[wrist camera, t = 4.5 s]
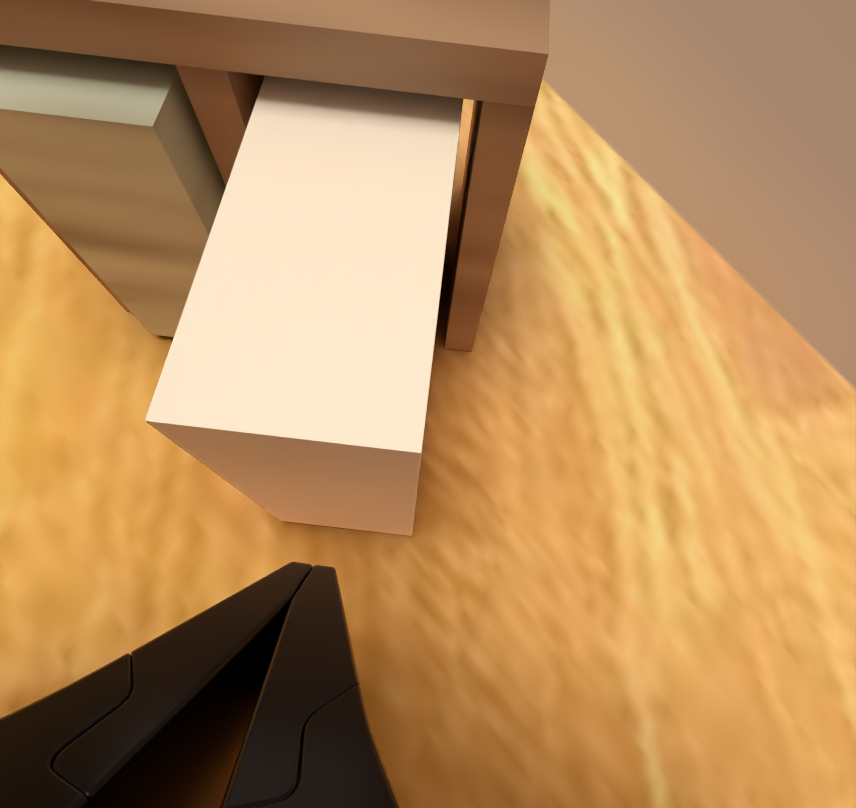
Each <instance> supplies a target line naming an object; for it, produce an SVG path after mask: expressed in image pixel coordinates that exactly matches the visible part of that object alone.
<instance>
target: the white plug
mask: <svg viewBox="0 0 856 808" xmlns="http://www.w3.org/2000/svg"><path fill="white" fill-rule="evenodd" d="M462 104H463V99H462V98H454V97H445V96H437V95H428V94H420V93H411V92H403V91H394V90H386V89H377V88H368V87H360V86H351V85H343V84H334V83H326V82H317V81H309V80H300V79H292V78H283V77H275V76H266V75H265V77H264V79H263V82H262V85H261V88H260V91H259V94H258V97H257V100H256V102H255V105H254V108H253V111H252V114H251V117H250V120H249V123H248V125H247V128H246V131H245V134H244V137H243V140H242V143H241V146H240V148H239V151H238V154H237V157H236V160H235V163H234V166H233V169H232V172H231V174H230V177H229V180H228V183H227V186H226V189H225V192H224V195H223V197H222V200H221V203H220V206H219V209H218V212H217V215H216V218H215V220H214V223H213V226H212V229H211V232H210V235H209V238H208V241H207V243H206V246H205V249H204V252H203V255H202V258H201V261H200V264H199V266H198V269H197V272H196V275H195V278H194V281H193V284H192V287H191V289H190V292H189V295H188V298H187V301H186V304H185V307H184V310H183V312H182V315H181V318H180V321H179V324H178V327H177V330H176V333H175V336H174V338H173V341H172V344H171V347H170V350H169V353H168V356H167V359H166V361H165V364H164V367H163V370H162V373H161V376H160V379H159V382H158V384H157V387H156V390H155V393H154V396H153V399H152V402H151V405H150V407H149V410H148V413H147V416H146V419H145V421H146V422H147V423H149V424H150V425H151V426H153V427H154V428H155V429H157V430H158V431H159V432H161V433H162V434H163V435H165V436H166V437H167V438H169V439H170V440H172V441H173V442H174V443H176V444H177V445H178V446H180V447H181V448H182V449H184V450H185V451H186V452H188V453H189V454H190V455H192V456H193V457H194V458H196V459H197V460H199V461H200V462H201V463H203V464H204V465H205V466H207V467H208V468H209V469H211V470H212V471H213V472H215V473H216V474H217V475H219V476H220V477H222V478H223V479H224V480H226V481H227V482H228V483H230V484H231V485H232V486H234V487H235V488H236V489H238V490H239V491H240V492H242V493H243V494H245V495H246V496H247V497H249V498H250V499H251V500H253V501H254V502H255V503H257V504H258V505H259V506H261V507H262V508H263V509H265V510H266V511H268V512H269V513H270V514H272V515H273V516H274V517H276V518H277V519H278V520H280V521H287V522H295V523H304V524H313V525H321V526H330V527H338V528H347V529H355V530H364V531H372V532H381V533H389V534H398V535H407V536H412V531H413V523H414V514H415V506H416V497H417V489H418V480H419V472H420V463H421V455H422V446H423V438H424V429H425V421H426V412H427V404H428V395H429V387H430V378H431V370H432V361H433V353H434V344H435V335H436V327H437V318H438V310H439V301H440V293H441V284H442V276H443V267H444V259H445V250H446V242H447V233H448V225H449V216H450V207H451V199H452V190H453V182H454V173H455V164H456V156H457V147H458V138H459V130H460V121H461V113H462Z"/></svg>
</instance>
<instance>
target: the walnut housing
mask: <svg viewBox="0 0 856 808" xmlns="http://www.w3.org/2000/svg"><path fill="white" fill-rule="evenodd" d="M549 12H550V0H0V174H1V175H2V176H3V177H4V178H5V179H6V180H7V182H8V183H9V184H10V185H11V186H12V187H13V188H14V189H15V190H16V191H17V192H18V194H19V195H20V196H21V197H22V198H23V199H24V200H25V201H26V202H27V203H28V204H29V205H30V207H31V208H32V209H33V210H34V211H35V212H36V213H37V214H38V215H39V216H40V217H41V219H42V220H43V221H44V222H45V223H46V224H47V225H48V226H49V227H50V228H51V229H52V230H53V232H54V233H55V234H56V235H57V236H58V237H59V238H60V239H61V240H62V241H63V242H64V244H65V245H66V246H67V247H68V248H69V249H70V250H71V251H72V252H73V253H74V254H75V255H76V257H77V258H78V259H79V260H80V261H81V262H82V263H83V264H84V265H85V266H86V267H87V269H88V270H89V271H90V272H91V273H92V274H93V275H94V276H95V277H96V278H97V279H98V280H99V282H100V283H101V284H102V285H103V286H104V287H105V288H106V289H107V290H108V291H109V292H110V294H111V295H112V296H113V297H114V298H115V299H116V300H117V301H118V302H119V303H120V304H121V306H122V307H123V308H124V309H125V310H126V311H129V312H132V313H133V315H134V316H135V317H136V318H137V319H138V320H139V321H140V322H141V323H142V324H143V326H144V327H145V328H146V329H147V330H148V331H149V332H150V333H151V334H152V335H160V336H169V337H174V336H175V333H176V330H177V327H178V324H179V321H180V318H181V315H182V312H183V310H184V307H185V304H186V301H187V298H188V295H189V292H190V289H191V287H192V284H193V281H194V278H195V275H196V272H197V269H198V266H199V264H200V261H201V258H202V255H203V252H204V249H205V246H206V243H207V241H208V238H209V235H210V232H211V229H212V226H213V223H214V220H215V218H216V215H217V212H218V209H219V206H220V203H221V200H222V197H223V195H224V192H225V189H226V186H227V183H228V180H229V177H230V174H231V172H232V169H233V166H234V163H235V160H236V157H237V154H238V151H239V148H240V146H241V143H242V140H243V137H244V134H245V131H246V128H247V125H248V123H249V120H250V117H251V114H252V111H253V108H254V105H255V102H256V100H257V97H258V94H259V91H260V88H261V85H262V82H263V79H264V77H265V75H266V76H275V77H283V78H292V79H300V80H309V81H317V82H326V83H334V84H343V85H351V86H360V87H368V88H377V89H386V90H394V91H403V92H411V93H420V94H428V95H437V96H445V97H454V98H462V99H471V100H474V105H473V112H472V120H471V127H470V134H469V141H468V149H467V156H466V163H465V170H464V178H463V185H462V193H461V202H460V212H459V221H458V230H457V239H456V249H455V258H454V267H453V276H452V286H451V295H450V304H449V314H448V323H447V332H446V341H445V349H454V350H462V351H471V350H472V347H473V343H474V339H475V335H476V331H477V327H478V324H479V320H480V316H481V312H482V308H483V304H484V300H485V297H486V293H487V289H488V285H489V281H490V277H491V274H492V270H493V266H494V262H495V258H496V254H497V250H498V247H499V243H500V239H501V235H502V231H503V227H504V224H505V220H506V216H507V212H508V208H509V204H510V200H511V197H512V193H513V189H514V185H515V181H516V177H517V174H518V170H519V166H520V162H521V158H522V154H523V150H524V147H525V143H526V139H527V135H528V131H529V127H530V124H531V120H532V116H533V112H534V108H535V104H536V100H537V97H538V93H539V89H540V85H541V81H542V77H543V73H544V69H545V66H546V62H547V58H548V54H549Z"/></svg>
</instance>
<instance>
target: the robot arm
mask: <svg viewBox="0 0 856 808" xmlns="http://www.w3.org/2000/svg"><path fill="white" fill-rule="evenodd" d="M0 808H400V805H399V803H398V800H397V798H396V795H395V793H394V790H393V788H392V785H391V783H390V780H389V778H388V775H387V772H386V770H385V767H384V765H383V762H382V760H381V757H380V754H379V751H378V748H377V745H376V742H375V740H374V737H373V734H372V731H371V727H370V723H369V719H368V716H367V712H366V708H365V704H364V699H363V695H362V690H361V687H360V683H359V678H358V674H357V669H356V664H355V659H354V655H353V650H352V645H351V641H350V636H349V631H348V626H347V622H346V617H345V612H344V607H343V603H342V598H341V593H340V588H339V584H338V579H337V574H336V570H335V568H333V567H327V566H320V565H316V566H314V567H312V565H310V564H305V563H298V562H291V563H289V564H287V565H285V566H284V567H282V568H280V569H278V570H276V571H275V572H273V573H271V574H269V575H267V576H266V577H264V578H262V579H260V580H259V581H257V582H255V583H253V584H251V585H250V586H248V587H246V588H244V589H243V590H241V591H239V592H237V593H235V594H234V595H232V596H230V597H228V598H226V599H225V600H223V601H221V602H219V603H218V604H216V605H214V606H212V607H210V608H209V609H207V610H205V611H203V612H202V613H200V614H198V615H196V616H194V617H193V618H191V619H189V620H187V621H185V622H184V623H182V624H180V625H178V626H177V627H175V628H173V629H171V630H169V631H168V632H166V633H164V634H162V635H161V636H159V637H157V638H155V639H153V640H152V641H150V642H148V643H146V644H145V645H143V646H141V647H139V648H137V649H136V650H134V651H132V653H131V655H130V654H125V655H123V656H122V657H120V658H118V659H116V660H114V661H113V662H111V663H109V664H107V665H105V666H104V667H102V668H100V669H98V670H96V671H94V672H92V673H91V674H89V675H87V676H85V677H83V678H81V679H79V680H77V681H76V682H74V683H72V684H70V685H68V686H66V687H64V688H62V689H60V690H58V691H56V692H54V693H52V694H50V695H48V696H46V697H44V698H42V699H40V700H38V701H36V702H34V703H32V704H30V705H28V706H26V707H24V708H22V709H19V710H17V711H15V712H13V713H11V714H9V715H7V716H5V717H3V718H1V719H0Z"/></svg>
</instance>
